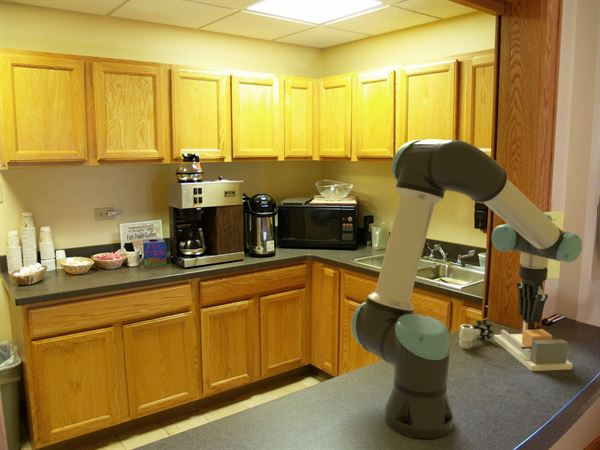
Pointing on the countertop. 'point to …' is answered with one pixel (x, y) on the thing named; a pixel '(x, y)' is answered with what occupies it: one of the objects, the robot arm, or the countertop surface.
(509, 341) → the cream and grey fixture
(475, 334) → the valve
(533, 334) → the orange block
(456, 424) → the countertop surface
